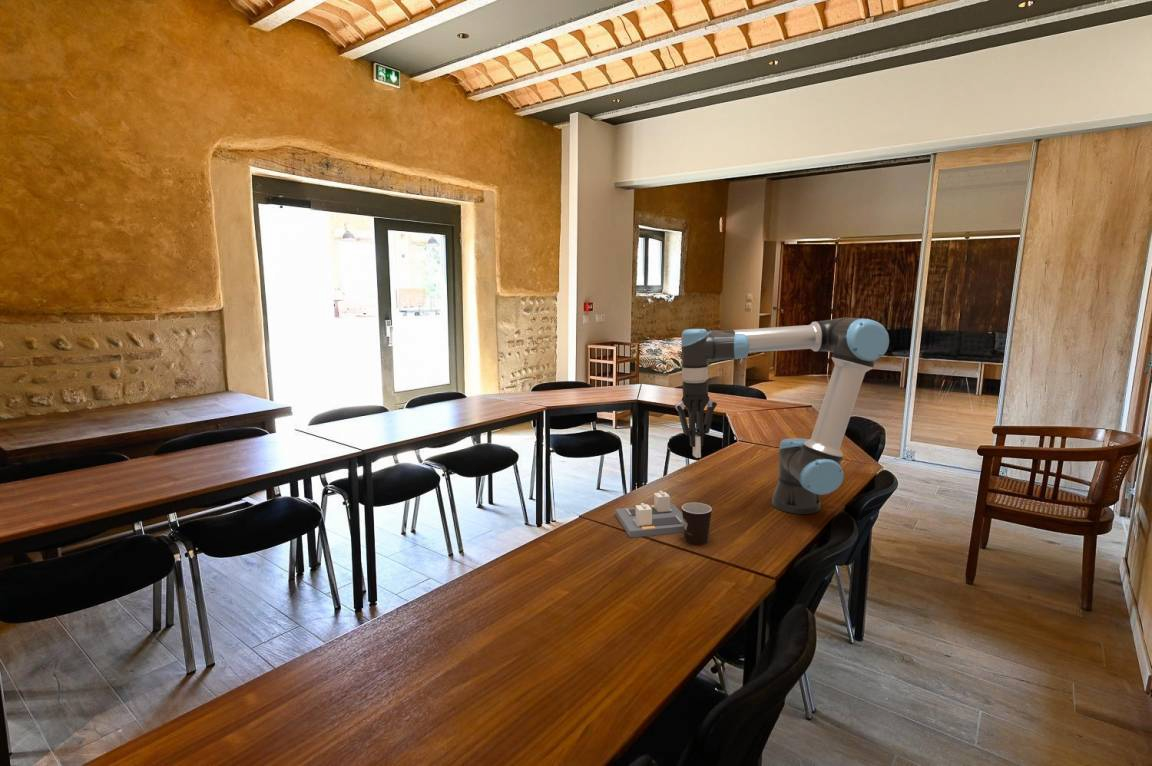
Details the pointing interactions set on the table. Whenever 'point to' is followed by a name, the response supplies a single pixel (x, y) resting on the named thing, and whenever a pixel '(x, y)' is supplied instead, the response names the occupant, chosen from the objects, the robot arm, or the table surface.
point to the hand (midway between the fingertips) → (696, 456)
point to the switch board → (660, 522)
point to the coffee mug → (696, 522)
